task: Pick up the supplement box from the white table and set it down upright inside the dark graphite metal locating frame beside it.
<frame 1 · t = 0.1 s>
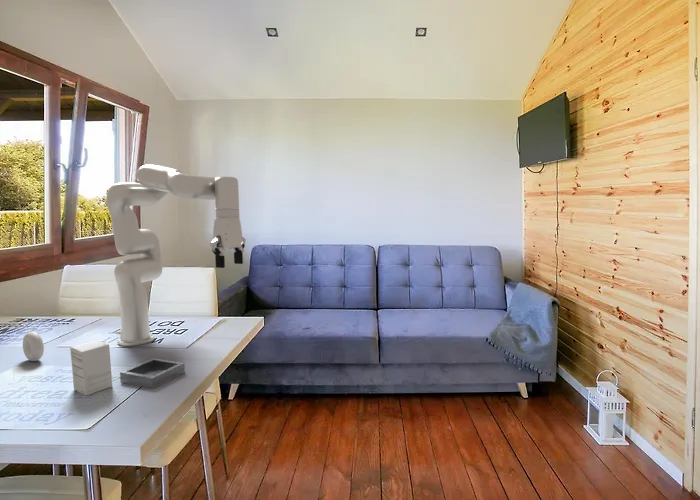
hand: (229, 265, 143), 31 cm above the table, tool pointing down, fingers open, 9 cm apart
locating frame: (153, 377, 128), on the table
supplement box: (93, 389, 121), on the table
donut: (34, 361, 143), on the table
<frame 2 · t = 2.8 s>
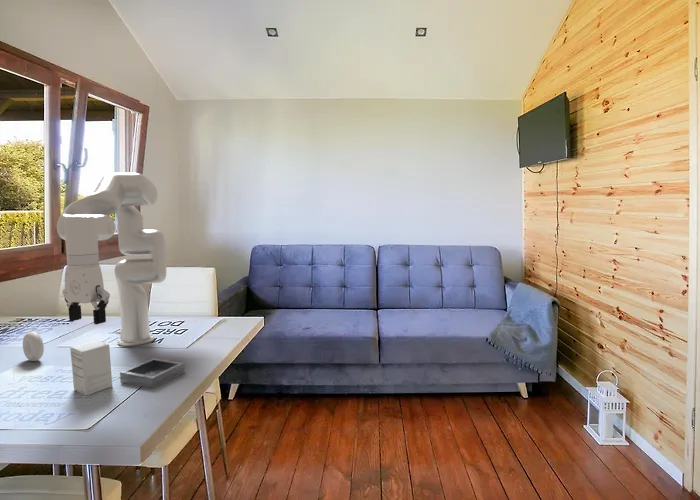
hand: (87, 321, 118), 19 cm above the table, tool pointing down, fingers open, 9 cm apart
nothing on the table moved.
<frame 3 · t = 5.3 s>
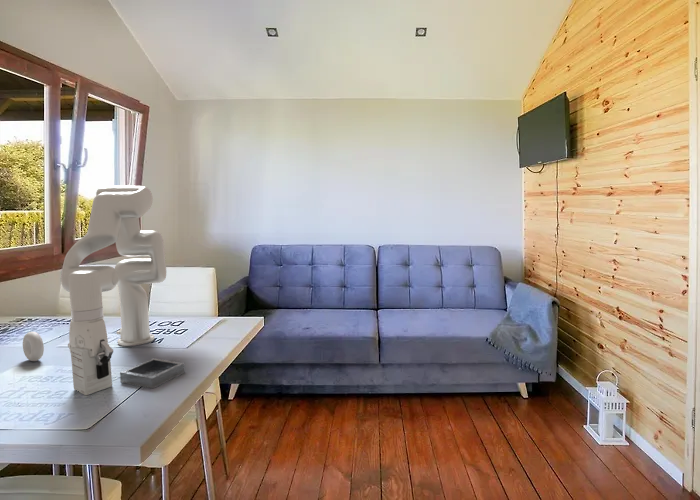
hand: (92, 374, 120), 4 cm above the table, tool pointing down, fingers closed on supplement box, 8 cm apart
supplement box: (93, 388, 121), on the table, touching gripper
everything else where it was.
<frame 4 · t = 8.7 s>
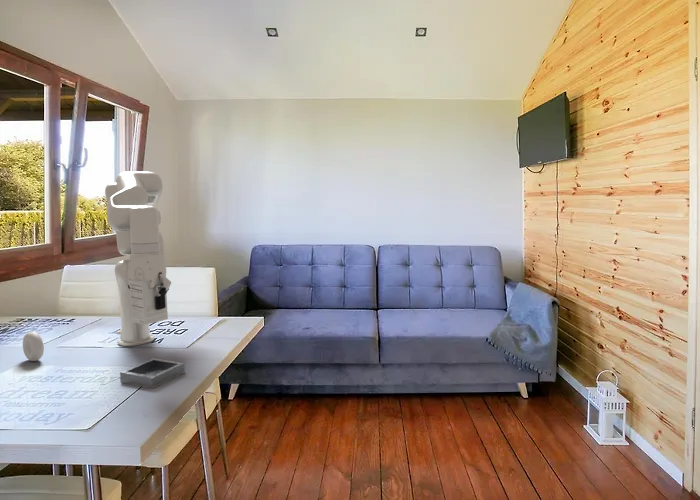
hand: (149, 307, 126), 21 cm above the table, tool pointing down, fingers closed on supplement box, 8 cm apart
supplement box: (149, 321, 126), point 17 cm above the table, touching gripper
everything else where it was.
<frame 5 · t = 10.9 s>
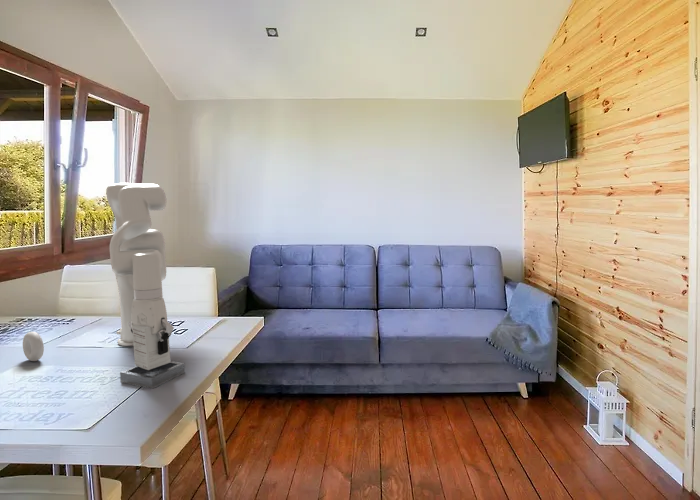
hand: (152, 351, 127), 8 cm above the table, tool pointing down, fingers closed on supplement box, 8 cm apart
supplement box: (152, 364, 128), point 4 cm above the table, touching gripper
everything else where it was.
when the fingers open (6 cm above the table, at t = 12.5 s): supplement box drops 1 cm, resting on locating frame.
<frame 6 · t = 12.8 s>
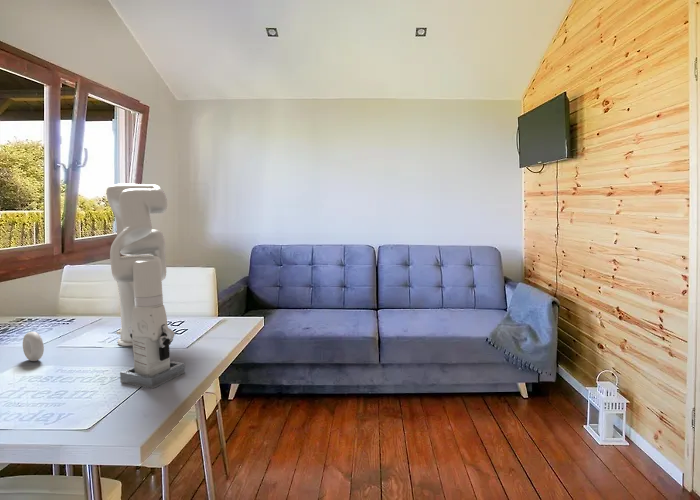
hand: (152, 357, 127), 6 cm above the table, tool pointing down, fingers open, 9 cm apart
supplement box: (152, 375, 128), resting on locating frame
everything else where it was.
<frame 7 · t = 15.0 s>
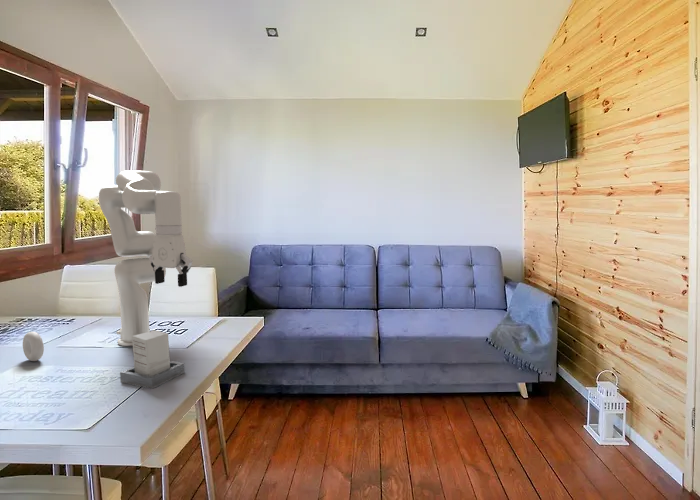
hand: (171, 284, 136), 26 cm above the table, tool pointing down, fingers open, 9 cm apart
nothing on the table moved.
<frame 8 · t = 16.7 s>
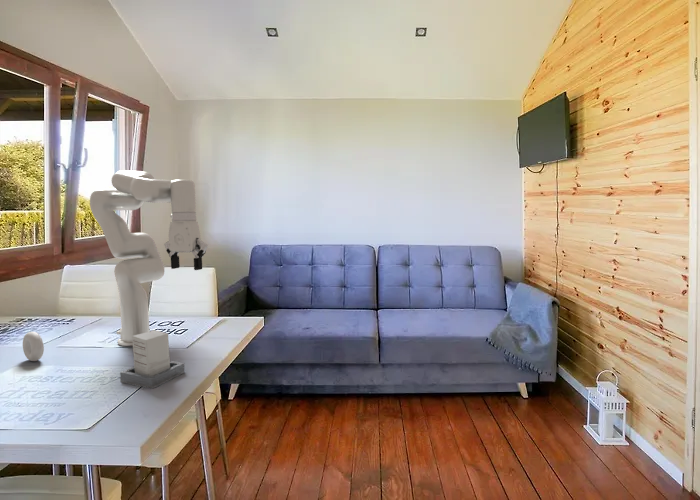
hand: (186, 268, 142), 30 cm above the table, tool pointing down, fingers open, 9 cm apart
nothing on the table moved.
at the end: supplement box 0.3 cm off-centre on the locating frame, point 0.4 cm above the locating frame's base; supplement box tilted 0°; the gripper is holding nothing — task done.
